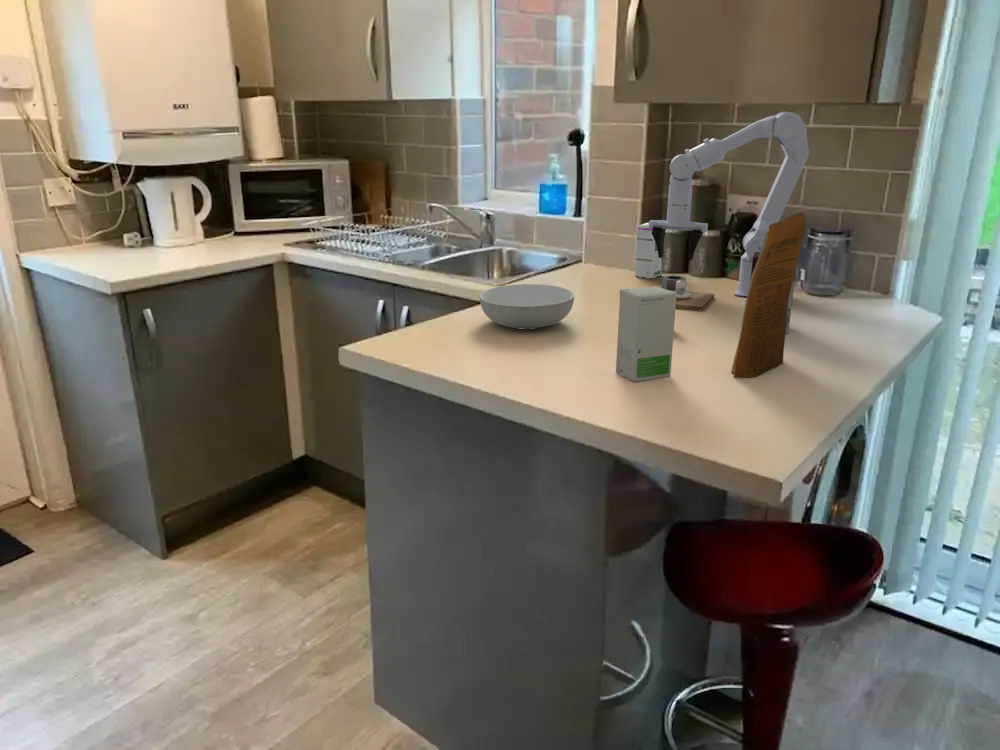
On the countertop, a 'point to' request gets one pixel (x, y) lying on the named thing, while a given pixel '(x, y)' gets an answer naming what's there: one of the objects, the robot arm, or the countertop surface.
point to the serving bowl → (527, 305)
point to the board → (695, 301)
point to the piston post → (681, 291)
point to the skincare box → (645, 333)
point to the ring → (671, 281)
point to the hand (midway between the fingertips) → (675, 258)
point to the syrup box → (646, 254)
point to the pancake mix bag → (769, 299)
